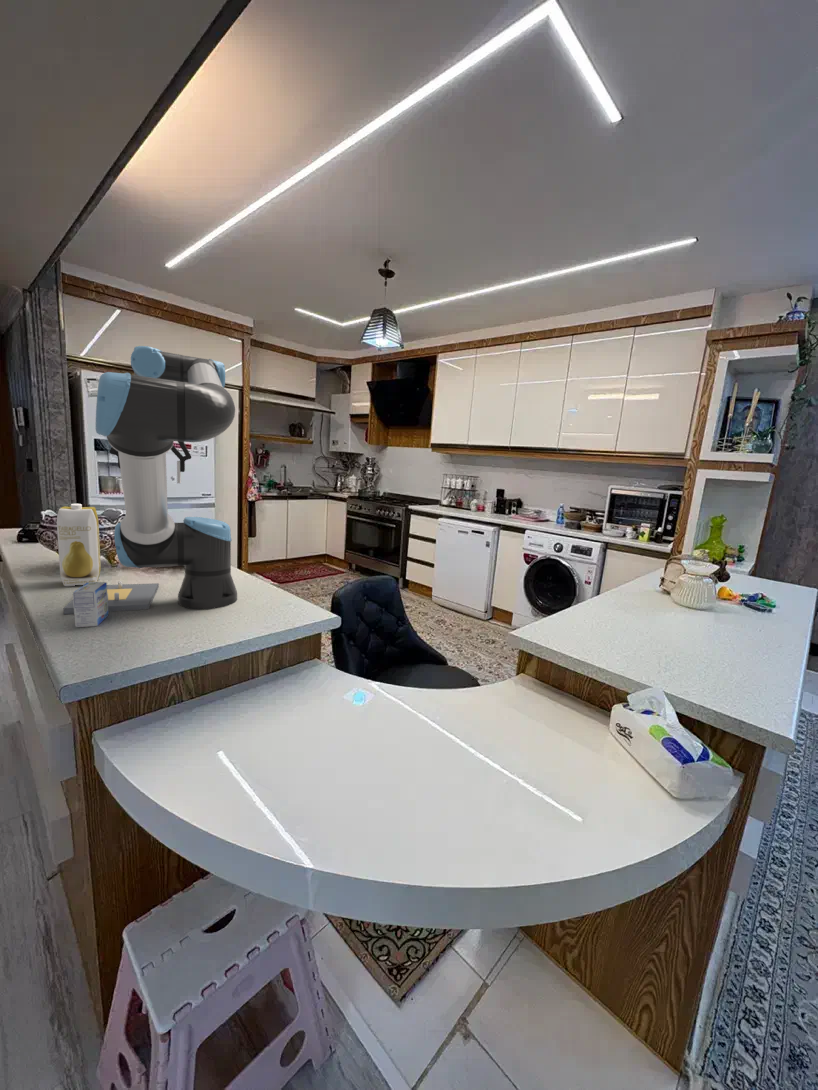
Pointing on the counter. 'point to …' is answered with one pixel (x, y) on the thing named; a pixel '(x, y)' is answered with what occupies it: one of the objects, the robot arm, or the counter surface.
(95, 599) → the medicine box
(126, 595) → the board
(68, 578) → the juice carton
